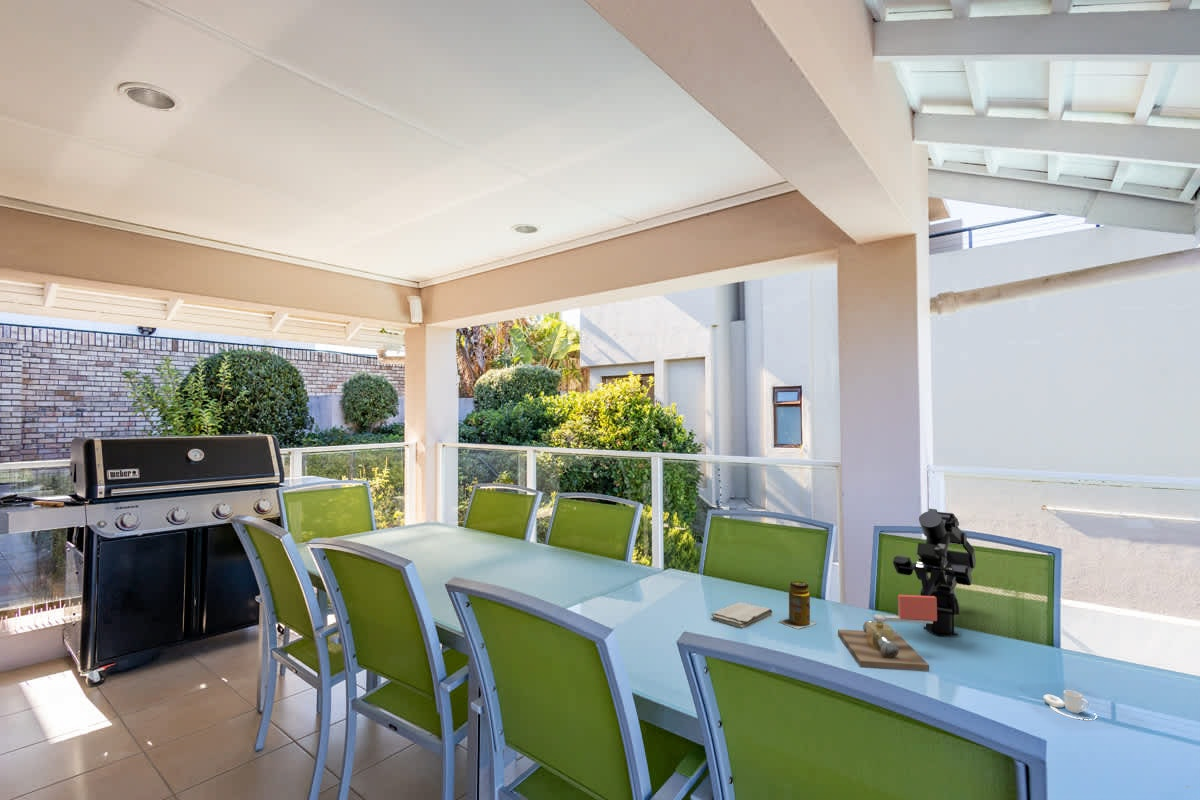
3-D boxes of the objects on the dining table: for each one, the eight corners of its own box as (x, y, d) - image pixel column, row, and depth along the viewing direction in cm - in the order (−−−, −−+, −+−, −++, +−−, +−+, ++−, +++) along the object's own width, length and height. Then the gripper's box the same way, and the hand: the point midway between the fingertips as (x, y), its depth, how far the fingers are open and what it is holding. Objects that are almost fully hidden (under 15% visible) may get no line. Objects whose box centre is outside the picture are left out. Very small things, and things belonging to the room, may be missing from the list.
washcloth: (709, 621, 180) (709, 611, 180) (739, 607, 193) (739, 598, 193) (743, 631, 171) (743, 620, 171) (773, 616, 184) (772, 606, 184)
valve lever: (875, 621, 154) (875, 596, 154) (872, 618, 157) (871, 592, 157) (938, 625, 152) (937, 598, 152) (933, 621, 155) (933, 595, 155)
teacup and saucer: (1036, 702, 128) (1036, 683, 128) (1070, 701, 129) (1069, 682, 129) (1072, 723, 119) (1071, 703, 119) (1108, 721, 120) (1107, 701, 120)
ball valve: (860, 634, 163) (860, 611, 164) (880, 635, 163) (880, 612, 163) (879, 657, 148) (879, 631, 148) (901, 658, 147) (900, 632, 147)
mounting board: (838, 634, 167) (837, 629, 167) (897, 637, 165) (897, 632, 165) (860, 667, 145) (860, 660, 146) (929, 671, 143) (929, 664, 143)
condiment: (816, 624, 176) (815, 584, 176) (798, 629, 171) (797, 588, 172) (796, 617, 182) (795, 578, 183) (778, 622, 178) (777, 582, 178)
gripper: (894, 527, 170) (882, 572, 162) (968, 536, 157) (959, 586, 149) (903, 550, 175) (891, 595, 167) (975, 560, 163) (967, 610, 154)
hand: (925, 596), depth 159 cm, fingers closed
